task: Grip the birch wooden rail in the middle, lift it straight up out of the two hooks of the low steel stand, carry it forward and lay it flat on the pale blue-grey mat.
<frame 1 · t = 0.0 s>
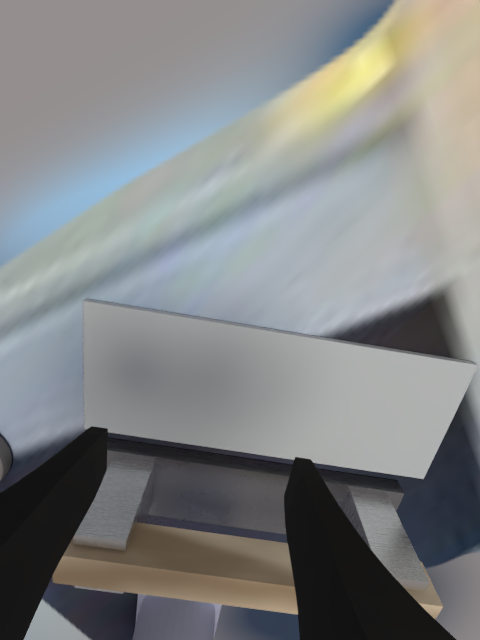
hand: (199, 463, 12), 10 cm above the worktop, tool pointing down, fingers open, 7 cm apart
mat: (269, 394, 23), on the worktop
rail: (248, 551, 21), point 5 cm above the worktop, touching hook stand
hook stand: (247, 488, 26), on the worktop
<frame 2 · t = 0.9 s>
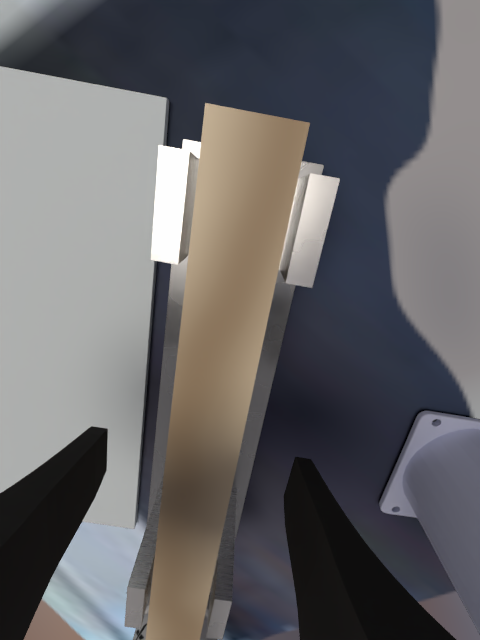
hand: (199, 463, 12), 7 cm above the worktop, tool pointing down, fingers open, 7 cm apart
mat: (61, 349, 18), on the worktop
travel mug: (179, 603, 26), on the worktop
rail: (207, 432, 14), point 5 cm above the worktop, touching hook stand
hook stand: (217, 374, 19), on the worktop
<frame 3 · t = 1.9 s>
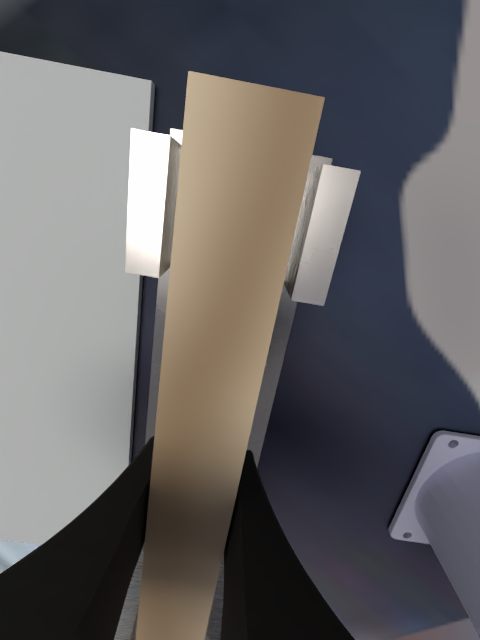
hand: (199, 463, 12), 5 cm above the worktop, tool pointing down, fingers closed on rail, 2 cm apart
mat: (39, 364, 16), on the worktop
rail: (198, 465, 12), point 5 cm above the worktop, touching gripper, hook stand
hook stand: (212, 391, 17), on the worktop
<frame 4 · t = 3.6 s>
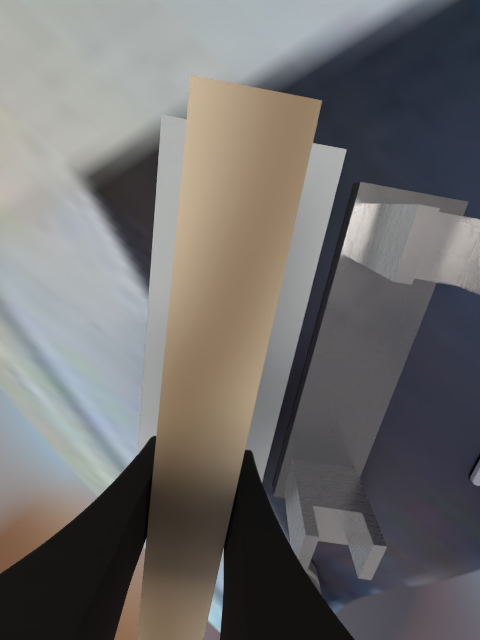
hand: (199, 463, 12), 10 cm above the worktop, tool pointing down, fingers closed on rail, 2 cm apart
mat: (220, 346, 22), on the worktop
rail: (199, 459, 12), point 10 cm above the worktop, touching gripper
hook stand: (347, 367, 22), on the worktop
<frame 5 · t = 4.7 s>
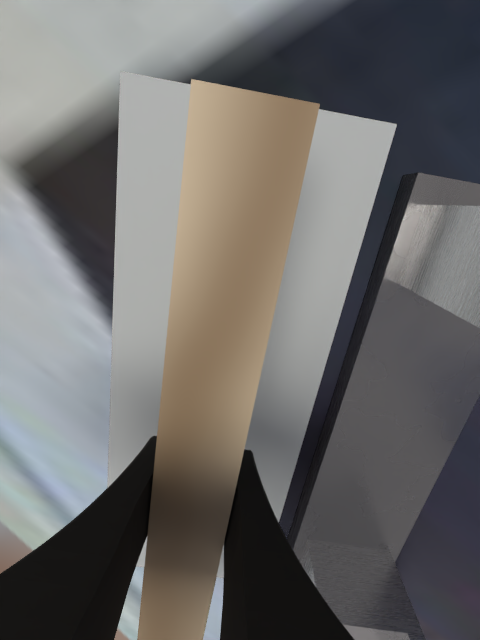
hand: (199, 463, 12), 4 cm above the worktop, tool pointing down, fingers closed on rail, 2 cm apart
mat: (212, 396, 16), on the worktop
rail: (200, 458, 12), point 4 cm above the worktop, touching gripper
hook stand: (383, 423, 17), on the worktop
when the fingers open (2 cm above the worktop, at t = 5.5 s): rail drops 1 cm, resting on mat.
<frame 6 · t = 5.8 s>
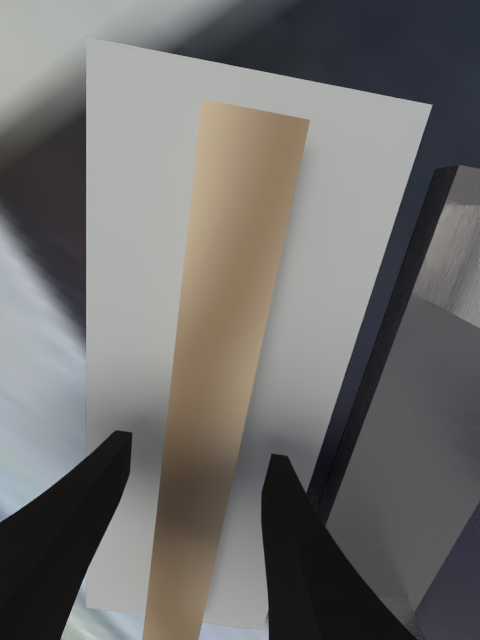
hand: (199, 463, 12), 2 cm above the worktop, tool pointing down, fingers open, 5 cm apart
mat: (205, 428, 14), on the worktop
rail: (204, 436, 14), resting on mat
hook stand: (403, 458, 14), on the worktop
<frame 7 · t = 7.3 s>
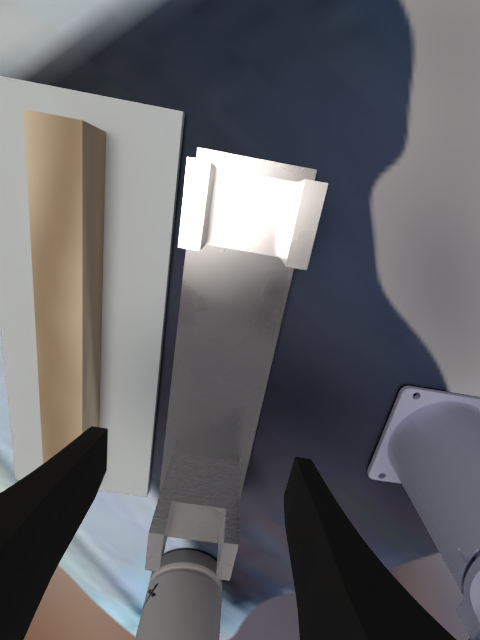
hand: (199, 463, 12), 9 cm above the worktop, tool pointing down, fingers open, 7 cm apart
mat: (85, 331, 20), on the worktop
travel mug: (186, 569, 29), on the worktop
rail: (81, 334, 20), resting on mat
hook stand: (223, 354, 21), on the worktop
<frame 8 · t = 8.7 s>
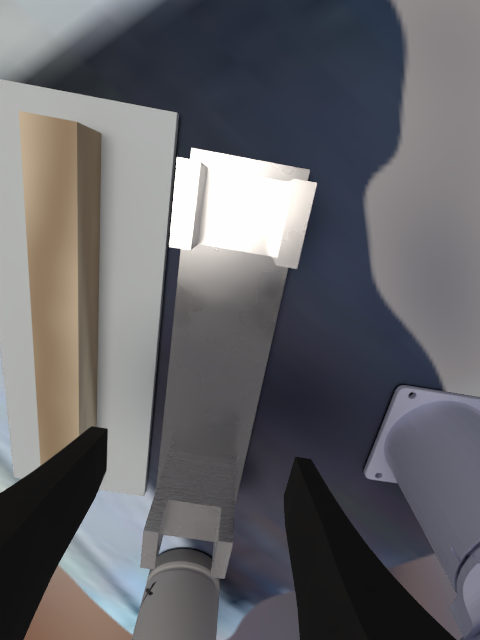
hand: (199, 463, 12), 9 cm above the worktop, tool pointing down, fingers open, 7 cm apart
mat: (82, 331, 21), on the worktop
travel mug: (184, 568, 29), on the worktop
rail: (78, 334, 20), resting on mat
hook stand: (219, 353, 21), on the worktop
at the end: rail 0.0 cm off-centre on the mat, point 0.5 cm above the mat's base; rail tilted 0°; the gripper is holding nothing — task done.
